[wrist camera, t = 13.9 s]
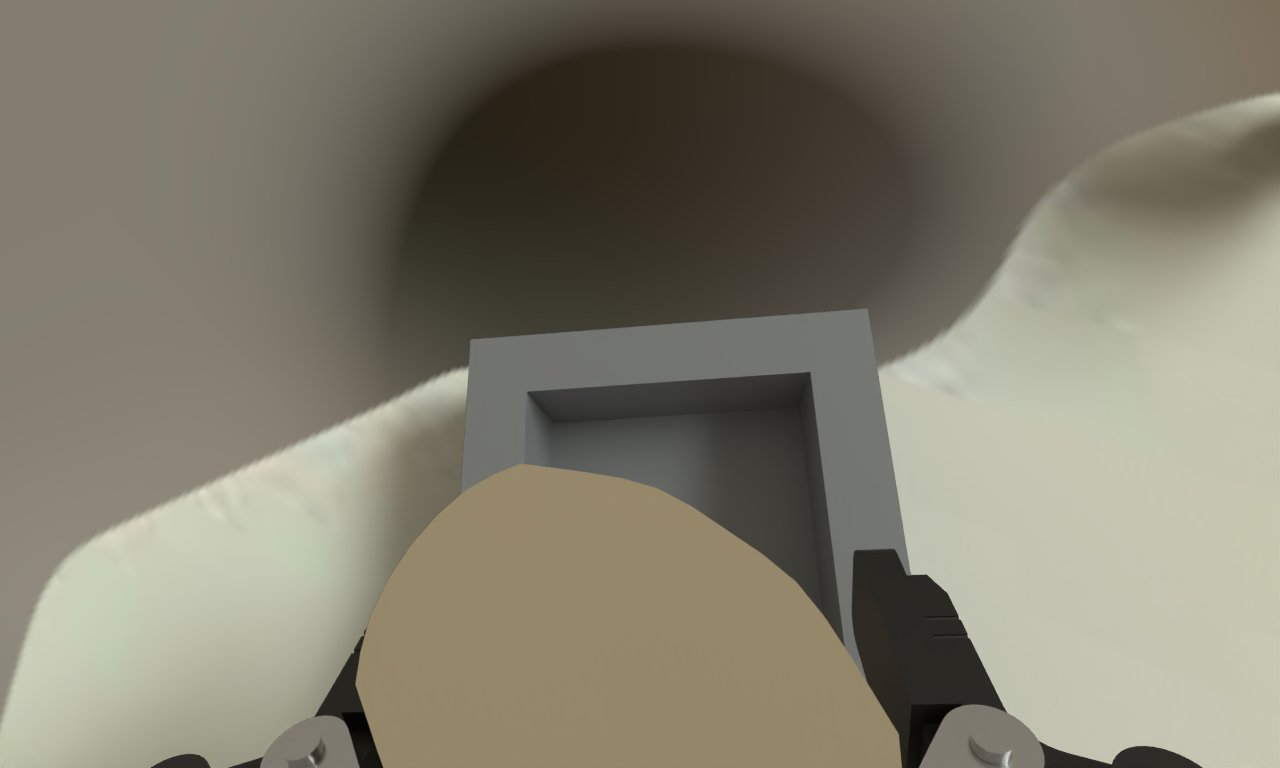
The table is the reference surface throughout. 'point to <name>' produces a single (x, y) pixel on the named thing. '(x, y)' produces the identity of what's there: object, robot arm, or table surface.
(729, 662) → the handle
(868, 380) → the gray rectangular tray
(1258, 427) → the table surface
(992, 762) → the robot arm
